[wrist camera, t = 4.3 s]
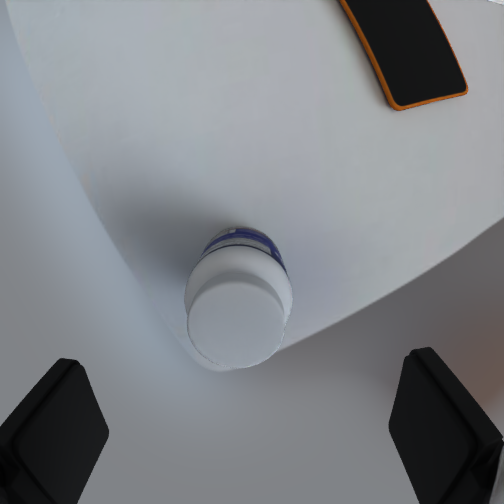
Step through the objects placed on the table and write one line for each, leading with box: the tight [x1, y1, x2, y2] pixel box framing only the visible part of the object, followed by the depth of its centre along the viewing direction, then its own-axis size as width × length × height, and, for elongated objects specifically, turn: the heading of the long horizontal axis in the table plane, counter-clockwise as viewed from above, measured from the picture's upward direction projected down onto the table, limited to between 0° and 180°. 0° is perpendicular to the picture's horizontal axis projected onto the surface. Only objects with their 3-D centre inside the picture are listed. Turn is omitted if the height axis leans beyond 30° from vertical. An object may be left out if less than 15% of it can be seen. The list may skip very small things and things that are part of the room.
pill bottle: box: [185, 227, 293, 368], centre depth 17 cm, size 5×5×9 cm
